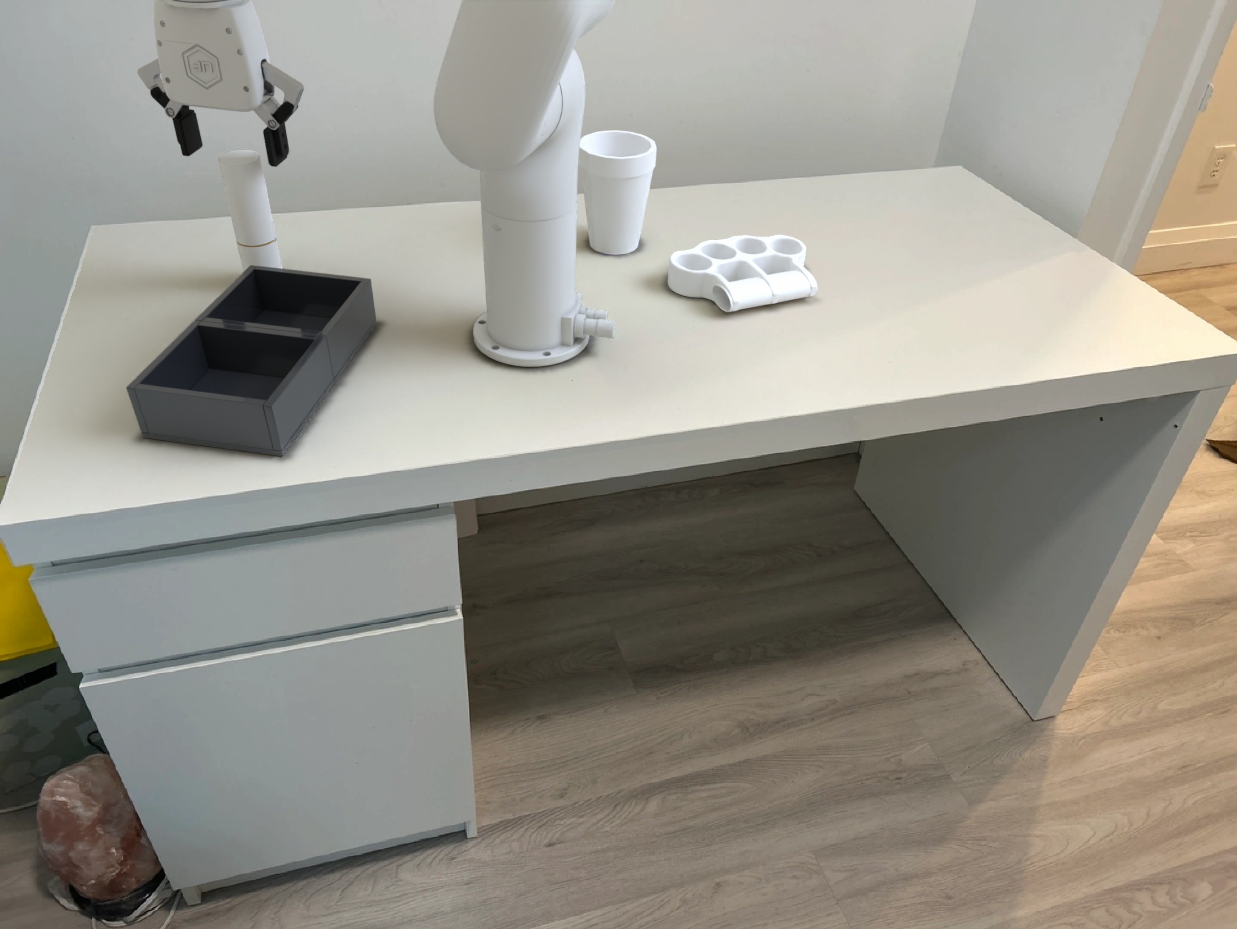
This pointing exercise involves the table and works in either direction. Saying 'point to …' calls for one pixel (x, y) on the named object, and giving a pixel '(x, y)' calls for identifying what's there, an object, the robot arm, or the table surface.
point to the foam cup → (616, 187)
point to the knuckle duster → (743, 271)
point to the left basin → (233, 387)
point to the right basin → (301, 307)
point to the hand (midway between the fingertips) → (235, 156)
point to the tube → (249, 208)
